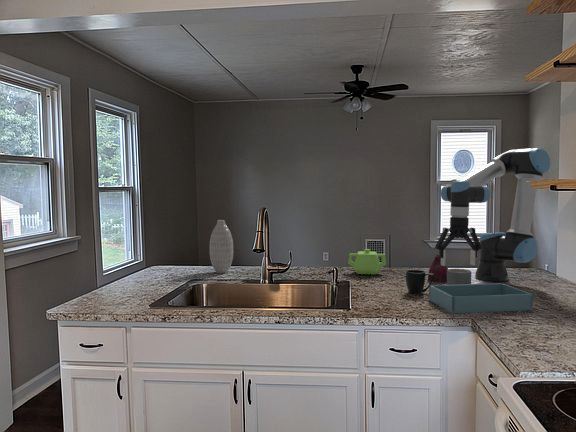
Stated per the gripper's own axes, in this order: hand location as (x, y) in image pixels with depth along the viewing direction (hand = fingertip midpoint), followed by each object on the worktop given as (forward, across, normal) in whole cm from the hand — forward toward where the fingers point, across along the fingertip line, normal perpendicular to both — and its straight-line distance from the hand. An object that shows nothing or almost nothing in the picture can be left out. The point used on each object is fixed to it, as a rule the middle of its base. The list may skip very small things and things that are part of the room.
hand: (457, 265), depth 206 cm
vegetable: (+12, -4, -25) cm, 28 cm away
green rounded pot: (+12, +26, -50) cm, 58 cm away
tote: (+12, +2, +21) cm, 24 cm away
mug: (+12, +16, -1) cm, 21 cm away
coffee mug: (+12, 0, 0) cm, 12 cm away
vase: (+13, +102, -62) cm, 121 cm away
